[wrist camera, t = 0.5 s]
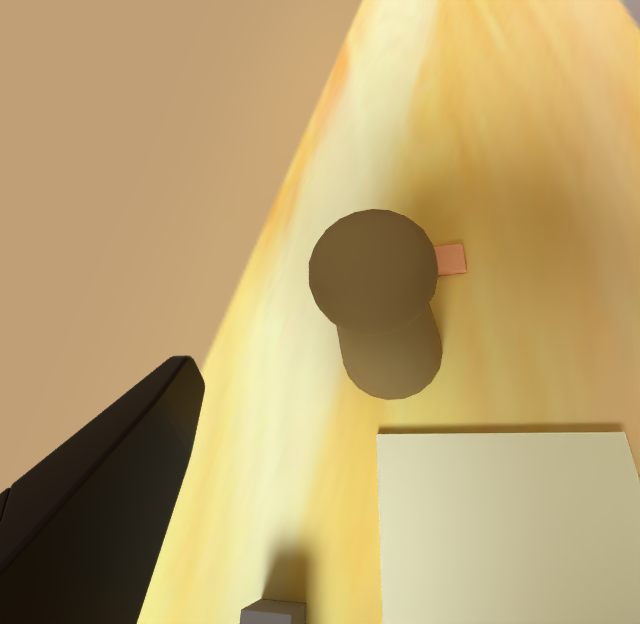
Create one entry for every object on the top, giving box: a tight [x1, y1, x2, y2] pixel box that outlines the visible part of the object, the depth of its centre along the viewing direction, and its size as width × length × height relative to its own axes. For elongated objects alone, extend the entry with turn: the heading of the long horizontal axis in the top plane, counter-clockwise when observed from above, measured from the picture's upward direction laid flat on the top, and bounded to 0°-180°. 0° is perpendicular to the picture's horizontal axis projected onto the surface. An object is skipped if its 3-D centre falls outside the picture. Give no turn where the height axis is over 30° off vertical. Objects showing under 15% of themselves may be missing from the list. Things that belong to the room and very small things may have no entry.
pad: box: [376, 432, 640, 624], centre depth 18 cm, size 12×12×1 cm
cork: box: [309, 209, 442, 400], centre depth 19 cm, size 6×6×11 cm
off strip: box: [434, 243, 466, 275], centre depth 26 cm, size 2×10×1 cm, turn 89°
